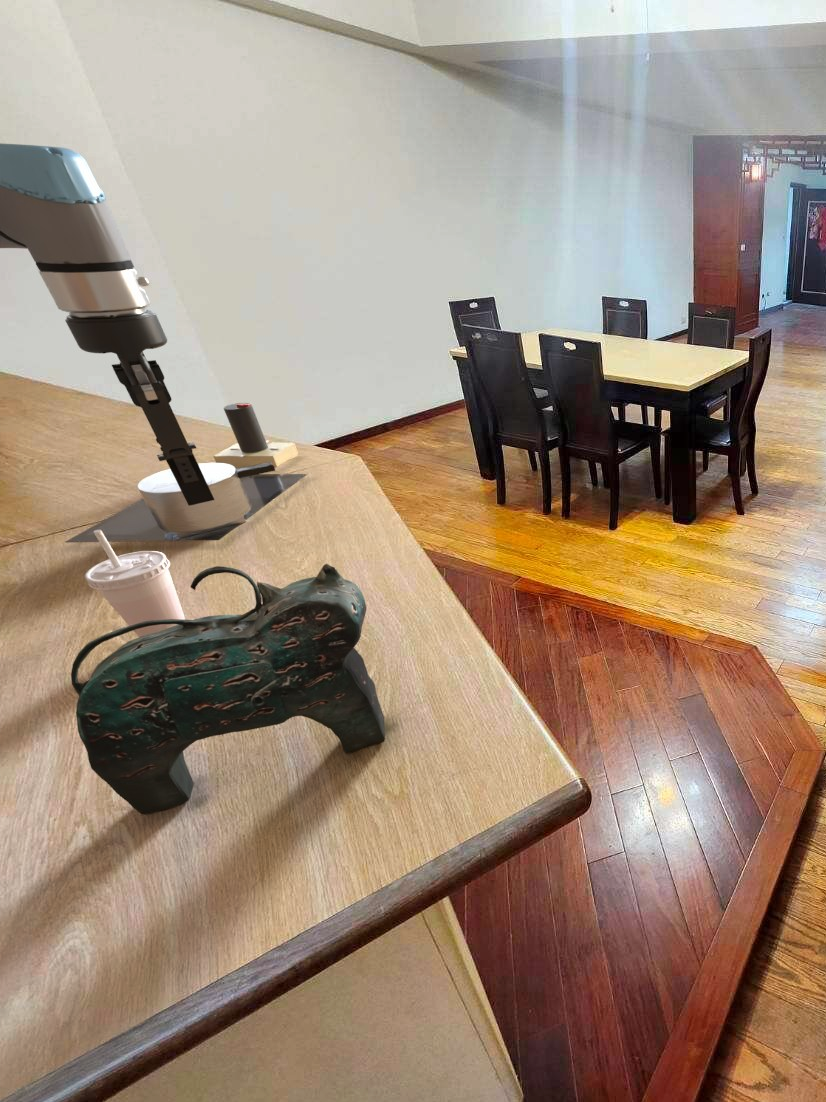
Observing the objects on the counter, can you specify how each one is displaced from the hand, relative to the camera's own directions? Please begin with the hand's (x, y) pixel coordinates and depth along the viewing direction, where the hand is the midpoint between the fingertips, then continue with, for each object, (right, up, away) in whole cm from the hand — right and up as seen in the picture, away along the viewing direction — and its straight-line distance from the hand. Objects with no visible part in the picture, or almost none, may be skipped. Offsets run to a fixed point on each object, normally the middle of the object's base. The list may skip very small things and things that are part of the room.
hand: (200, 500), depth 78 cm
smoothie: (+7, -17, -11) cm, 21 cm away
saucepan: (-7, -1, +12) cm, 14 cm away
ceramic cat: (+31, -26, -25) cm, 48 cm away
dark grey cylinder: (-18, +12, +30) cm, 37 cm away
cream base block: (-18, +10, +32) cm, 38 cm away
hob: (-14, +1, +16) cm, 21 cm away
